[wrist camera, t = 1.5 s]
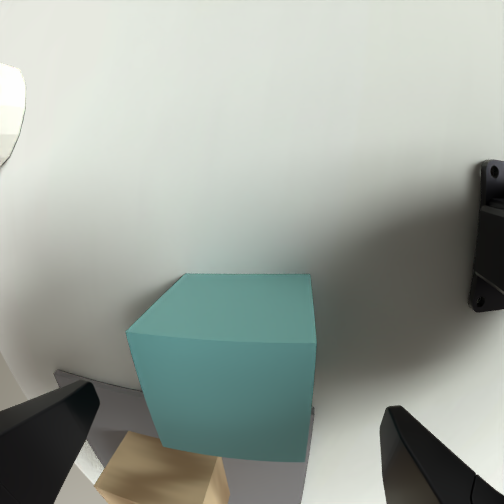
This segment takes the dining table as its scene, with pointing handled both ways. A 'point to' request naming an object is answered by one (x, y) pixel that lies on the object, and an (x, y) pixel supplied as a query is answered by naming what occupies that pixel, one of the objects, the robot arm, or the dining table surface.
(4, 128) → the white cup
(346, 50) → the dining table surface
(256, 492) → the build board
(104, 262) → the dining table surface
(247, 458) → the teal cube
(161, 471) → the oak base block
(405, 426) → the robot arm
